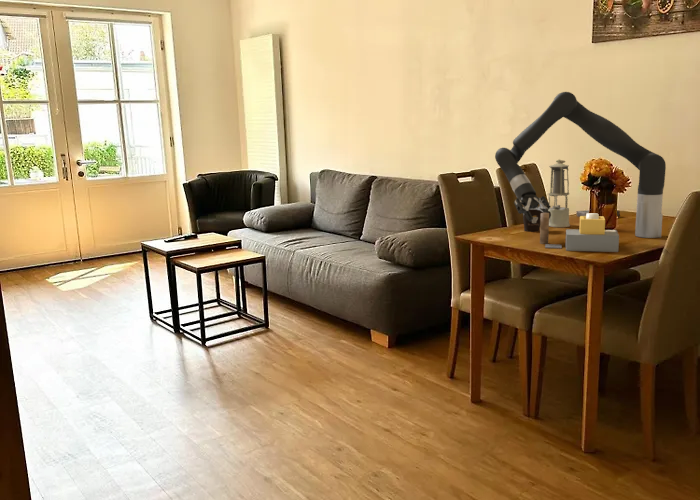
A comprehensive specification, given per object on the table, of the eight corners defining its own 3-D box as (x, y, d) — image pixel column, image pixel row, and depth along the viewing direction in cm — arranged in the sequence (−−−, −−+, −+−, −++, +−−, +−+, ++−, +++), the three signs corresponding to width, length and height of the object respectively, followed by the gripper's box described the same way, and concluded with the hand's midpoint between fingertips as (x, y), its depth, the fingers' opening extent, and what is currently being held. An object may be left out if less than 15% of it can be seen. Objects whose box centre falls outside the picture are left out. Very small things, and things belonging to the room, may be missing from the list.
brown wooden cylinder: (548, 242, 253) (549, 212, 250) (548, 244, 250) (549, 213, 247) (539, 242, 253) (540, 212, 251) (539, 244, 250) (540, 213, 248)
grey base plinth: (615, 245, 243) (616, 215, 241) (618, 251, 232) (619, 220, 229) (565, 244, 248) (566, 215, 246) (566, 250, 237) (567, 219, 235)
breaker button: (597, 232, 240) (598, 213, 239) (598, 234, 236) (599, 214, 235) (585, 232, 242) (585, 212, 240) (585, 234, 237) (586, 214, 236)
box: (620, 216, 308) (620, 210, 307) (585, 219, 306) (585, 213, 306) (609, 214, 318) (609, 208, 318) (575, 216, 317) (576, 210, 316)
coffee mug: (519, 231, 279) (520, 208, 277) (524, 228, 286) (524, 206, 284) (547, 233, 273) (547, 209, 271) (550, 229, 281) (551, 207, 279)
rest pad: (561, 245, 246) (561, 244, 246) (561, 248, 241) (561, 247, 241) (545, 245, 248) (545, 244, 248) (545, 248, 242) (545, 247, 242)
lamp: (543, 226, 289) (544, 160, 284) (552, 222, 300) (554, 158, 294) (566, 228, 284) (568, 160, 278) (574, 223, 294) (577, 158, 288)
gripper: (512, 183, 255) (529, 215, 247) (541, 180, 260) (559, 212, 252) (504, 195, 261) (521, 226, 253) (532, 192, 266) (550, 223, 258)
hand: (540, 219), depth 252 cm, fingers open, 8 cm apart
